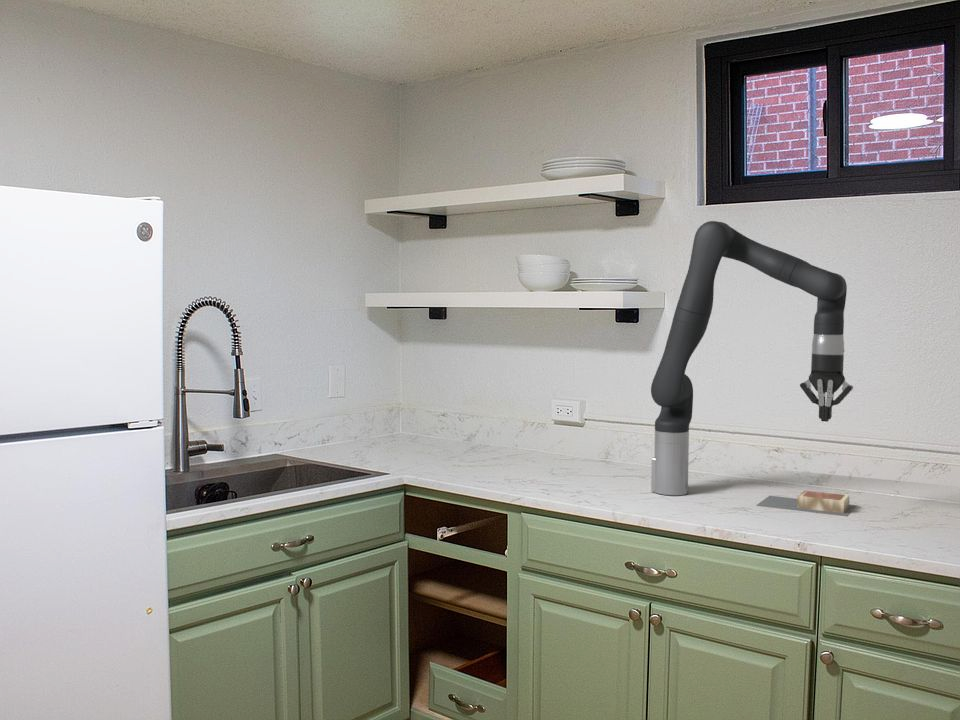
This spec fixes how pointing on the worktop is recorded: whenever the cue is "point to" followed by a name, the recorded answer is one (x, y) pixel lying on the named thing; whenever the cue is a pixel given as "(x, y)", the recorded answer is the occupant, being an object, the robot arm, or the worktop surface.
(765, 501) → the rubber mat
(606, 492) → the worktop surface
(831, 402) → the robot arm
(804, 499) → the cream brown rectangular block
